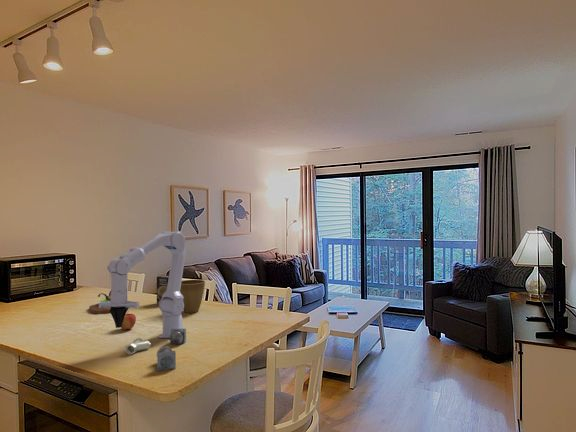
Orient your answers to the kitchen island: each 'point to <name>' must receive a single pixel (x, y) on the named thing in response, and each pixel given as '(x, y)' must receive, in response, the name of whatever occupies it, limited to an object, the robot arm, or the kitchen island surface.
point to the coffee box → (161, 286)
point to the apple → (128, 321)
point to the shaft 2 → (178, 336)
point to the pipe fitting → (137, 346)
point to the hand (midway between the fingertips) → (118, 327)
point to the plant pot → (192, 294)
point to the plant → (97, 310)
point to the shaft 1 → (166, 359)
